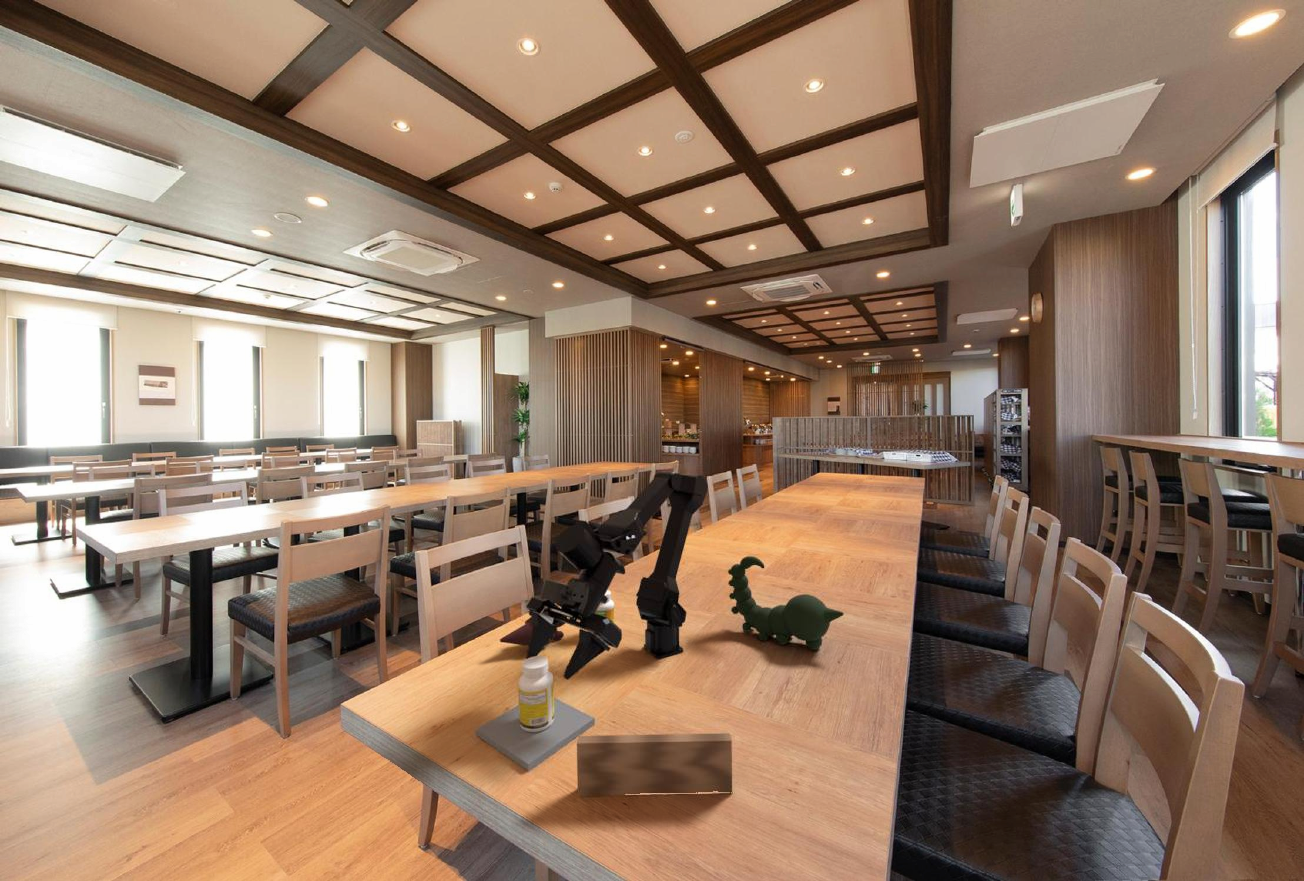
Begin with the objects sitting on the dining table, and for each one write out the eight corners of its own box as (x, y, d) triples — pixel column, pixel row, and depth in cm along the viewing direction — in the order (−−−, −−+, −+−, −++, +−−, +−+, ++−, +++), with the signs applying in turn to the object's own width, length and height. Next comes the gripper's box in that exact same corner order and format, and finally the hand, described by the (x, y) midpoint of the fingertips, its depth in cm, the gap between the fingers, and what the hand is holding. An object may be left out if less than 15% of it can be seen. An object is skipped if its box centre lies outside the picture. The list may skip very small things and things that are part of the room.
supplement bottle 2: (594, 640, 106) (593, 597, 106) (588, 631, 111) (587, 590, 111) (617, 636, 108) (616, 594, 108) (610, 627, 113) (609, 587, 113)
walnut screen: (730, 784, 63) (729, 733, 63) (732, 793, 61) (731, 740, 61) (579, 787, 63) (578, 735, 63) (577, 796, 61) (576, 743, 61)
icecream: (508, 635, 95) (575, 622, 104) (496, 615, 101) (560, 604, 110) (503, 666, 96) (569, 650, 105) (492, 644, 102) (555, 631, 111)
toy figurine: (727, 643, 108) (841, 663, 93) (719, 559, 108) (832, 567, 94) (745, 628, 116) (853, 645, 101) (738, 550, 116) (844, 556, 101)
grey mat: (542, 696, 84) (542, 691, 84) (594, 724, 76) (594, 717, 76) (476, 735, 74) (476, 728, 74) (528, 770, 66) (528, 763, 66)
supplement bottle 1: (536, 708, 79) (534, 650, 79) (561, 718, 76) (560, 658, 76) (511, 726, 74) (510, 665, 74) (537, 737, 72) (536, 673, 71)
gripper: (532, 551, 86) (480, 632, 78) (608, 568, 75) (556, 666, 66) (567, 581, 93) (521, 660, 84) (641, 602, 81) (597, 695, 73)
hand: (546, 669), depth 77 cm, fingers open, 9 cm apart
